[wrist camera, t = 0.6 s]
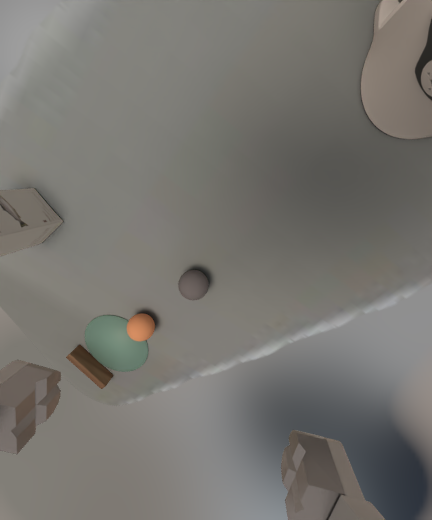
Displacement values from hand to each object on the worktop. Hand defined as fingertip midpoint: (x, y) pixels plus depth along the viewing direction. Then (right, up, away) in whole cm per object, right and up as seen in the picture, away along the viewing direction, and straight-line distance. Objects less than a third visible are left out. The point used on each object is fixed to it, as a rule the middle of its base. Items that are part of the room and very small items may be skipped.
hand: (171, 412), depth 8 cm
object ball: (-12, -7, +37) cm, 40 cm away
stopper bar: (-25, -17, +45) cm, 55 cm away
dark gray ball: (-2, +1, +32) cm, 32 cm away
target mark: (-19, -12, +43) cm, 48 cm away
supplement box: (-30, +13, +36) cm, 49 cm away
